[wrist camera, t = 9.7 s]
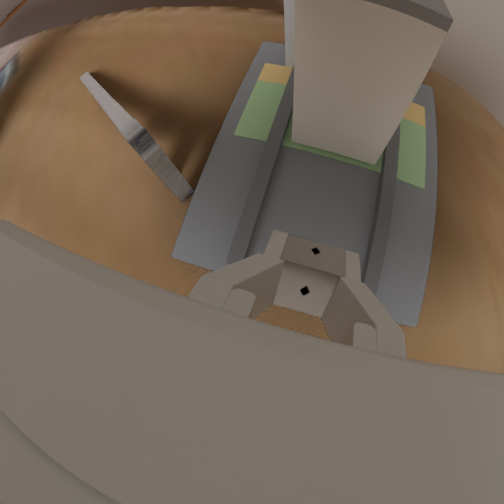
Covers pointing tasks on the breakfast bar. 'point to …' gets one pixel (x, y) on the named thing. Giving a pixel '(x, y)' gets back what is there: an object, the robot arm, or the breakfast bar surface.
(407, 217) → the grey holder
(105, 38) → the breakfast bar surface
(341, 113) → the cream rectangular box
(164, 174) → the caliper
